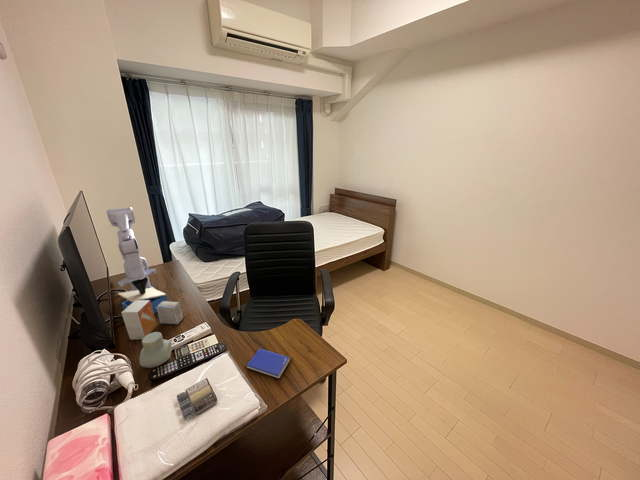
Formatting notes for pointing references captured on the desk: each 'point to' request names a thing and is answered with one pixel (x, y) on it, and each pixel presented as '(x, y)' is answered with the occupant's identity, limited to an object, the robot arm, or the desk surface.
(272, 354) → the hard drive
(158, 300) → the case
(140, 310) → the small box
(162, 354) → the air freshener
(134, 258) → the robot arm
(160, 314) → the medicine box
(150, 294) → the lid
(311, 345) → the desk surface
